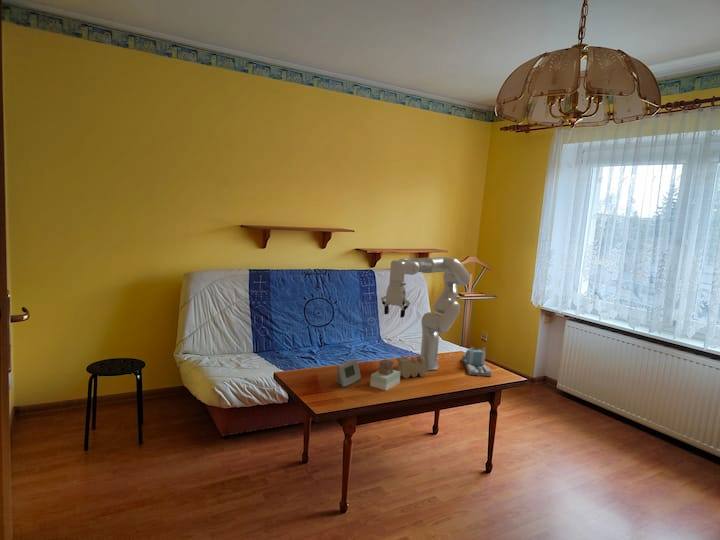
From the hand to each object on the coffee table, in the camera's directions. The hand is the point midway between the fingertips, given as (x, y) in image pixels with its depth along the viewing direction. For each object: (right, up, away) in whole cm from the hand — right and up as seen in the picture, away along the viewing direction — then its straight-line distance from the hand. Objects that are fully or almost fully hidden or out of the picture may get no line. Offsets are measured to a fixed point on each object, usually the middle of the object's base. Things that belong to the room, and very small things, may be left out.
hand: (394, 315), depth 247 cm
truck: (+49, -33, +24) cm, 64 cm away
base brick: (-5, -34, -12) cm, 36 cm away
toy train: (+10, -33, +3) cm, 35 cm away
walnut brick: (-5, -28, -13) cm, 31 cm away
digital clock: (-24, -33, -12) cm, 43 cm away
